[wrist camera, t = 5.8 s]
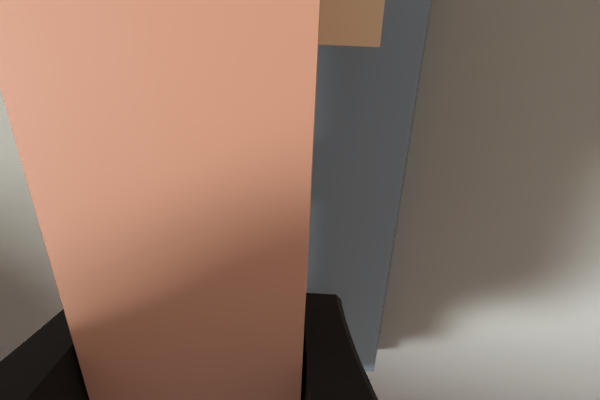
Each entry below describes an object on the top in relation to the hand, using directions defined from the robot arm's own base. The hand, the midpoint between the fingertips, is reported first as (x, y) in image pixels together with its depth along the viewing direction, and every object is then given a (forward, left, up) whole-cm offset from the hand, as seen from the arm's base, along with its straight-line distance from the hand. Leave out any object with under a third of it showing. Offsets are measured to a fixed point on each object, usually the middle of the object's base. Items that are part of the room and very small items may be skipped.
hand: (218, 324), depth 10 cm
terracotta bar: (0, 0, -3) cm, 3 cm away
